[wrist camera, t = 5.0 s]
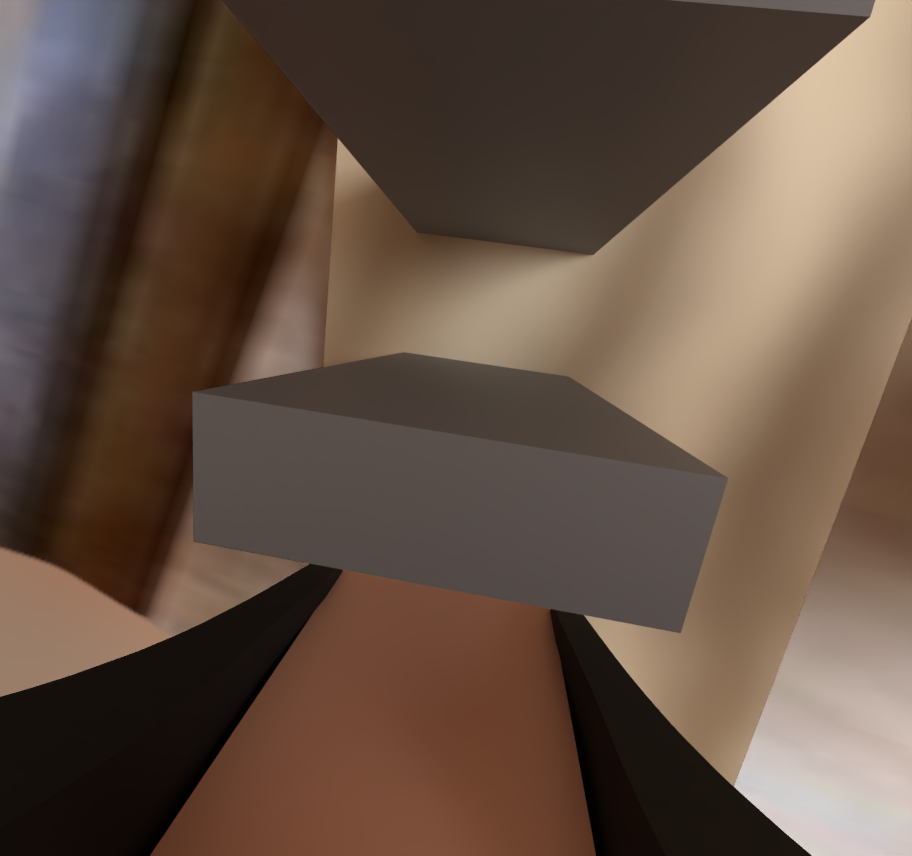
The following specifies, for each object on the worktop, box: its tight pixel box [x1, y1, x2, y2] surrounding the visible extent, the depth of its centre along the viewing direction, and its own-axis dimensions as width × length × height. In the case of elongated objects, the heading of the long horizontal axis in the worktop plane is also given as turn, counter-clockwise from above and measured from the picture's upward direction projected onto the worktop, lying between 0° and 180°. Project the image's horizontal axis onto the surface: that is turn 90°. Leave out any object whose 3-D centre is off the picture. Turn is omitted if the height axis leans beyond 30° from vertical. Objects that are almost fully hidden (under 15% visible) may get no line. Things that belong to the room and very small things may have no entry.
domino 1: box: [222, 0, 875, 255], centre depth 7 cm, size 2×5×9 cm, turn 82°
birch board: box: [323, 0, 912, 787], centre depth 13 cm, size 16×30×1 cm, turn 172°
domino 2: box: [192, 352, 728, 633], centre depth 8 cm, size 2×5×9 cm, turn 82°
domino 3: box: [150, 570, 596, 856], centre depth 8 cm, size 2×5×9 cm, turn 82°
